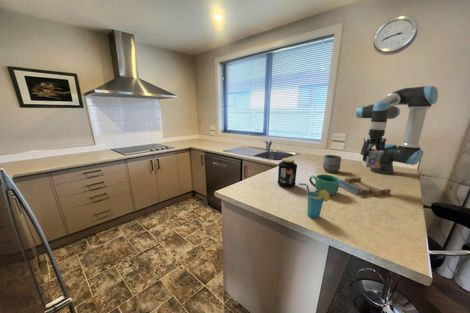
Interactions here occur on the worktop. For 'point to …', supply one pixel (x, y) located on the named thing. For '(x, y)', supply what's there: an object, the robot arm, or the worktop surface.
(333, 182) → the mug
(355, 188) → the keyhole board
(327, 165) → the planter
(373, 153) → the mug
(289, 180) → the container
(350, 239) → the worktop surface
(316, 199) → the cup
